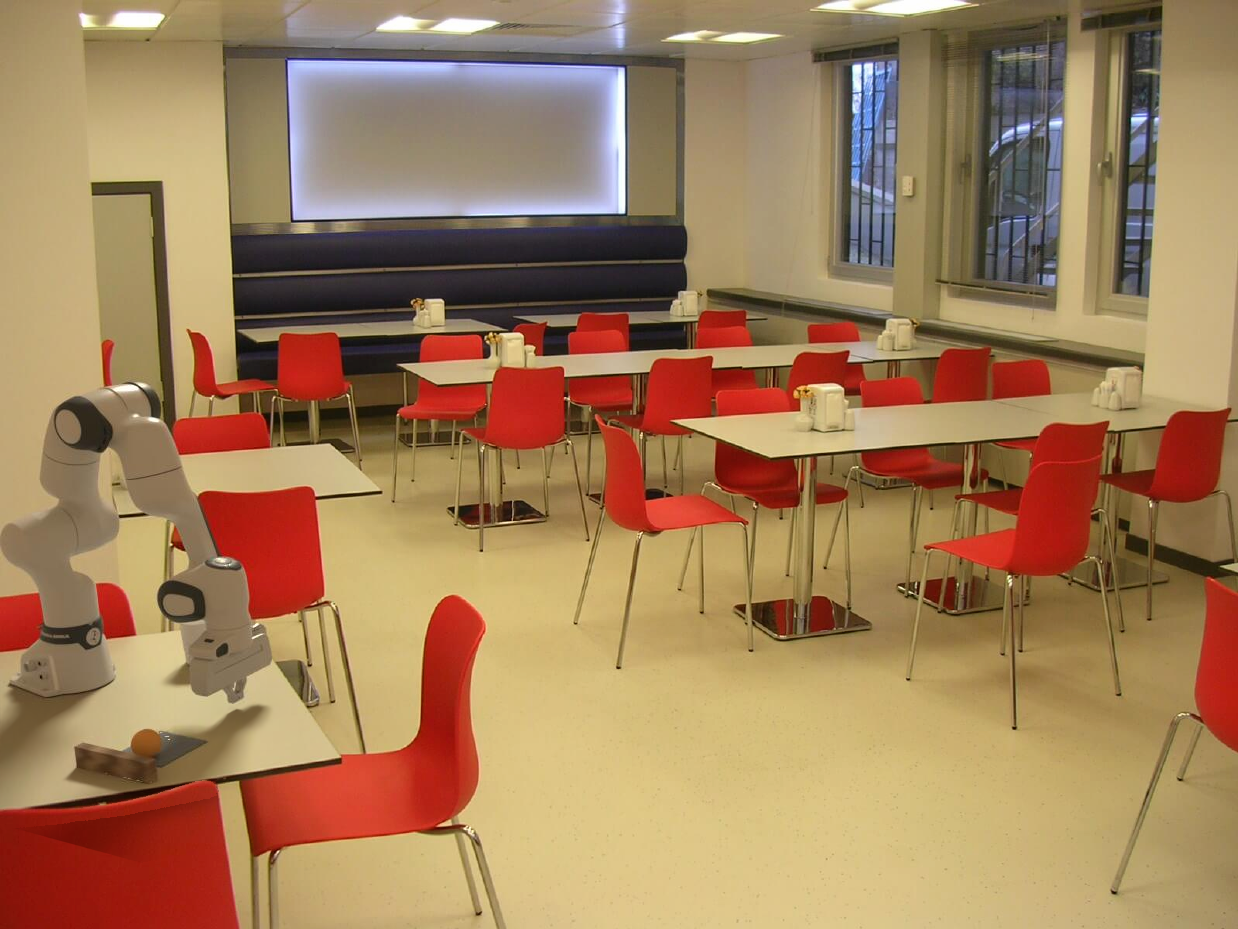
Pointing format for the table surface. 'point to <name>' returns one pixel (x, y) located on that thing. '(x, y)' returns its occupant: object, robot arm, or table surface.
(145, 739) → the ball
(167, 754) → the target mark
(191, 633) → the white cup
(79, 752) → the stopper wall
